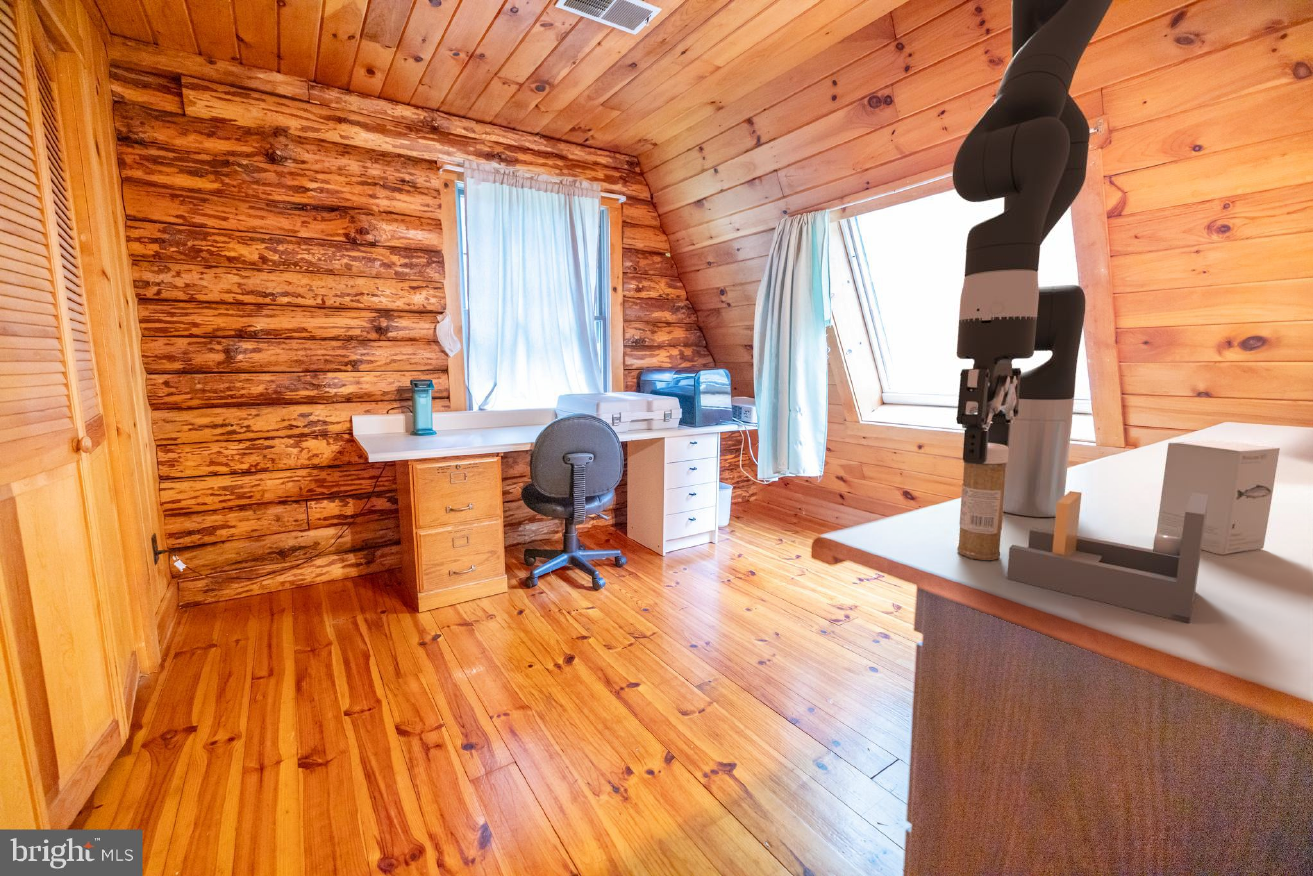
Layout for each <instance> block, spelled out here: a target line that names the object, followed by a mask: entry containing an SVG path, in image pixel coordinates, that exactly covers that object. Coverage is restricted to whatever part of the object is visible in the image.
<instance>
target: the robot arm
mask: <svg viewBox="0 0 1313 876" xmlns="http://www.w3.org/2000/svg"><path fill="white" fill-rule="evenodd" d="M1113 1H1114V0H1011V60H1010V62H1009V63H1008V65H1007V67H1006V69H1005V71H1004V74H1003V76H1002V78H1001V82H1000V84H999V86H998V89H997V93H996V94H995V95H996V96H995V98H994V101H993V103H992V104H991V105H990V106H989V107H988V108H987V110H986V111H985V112H984V114H982V116H981V117H980V119H978V121H977V122H976V123H975V124H974V126H973V127H972V128H971V129H970V130H969V132H968V134H967V135H966V136H965V138H964V139H963V141H962V143H961V145H960V147H959V149H958V150H957V153H956V155H955V159H954V161H953V167H952V182H953V187H954V189H955V192H956V193H957V194H958V195H959V196H960V198H962V199H963V200H965V201H966V202H970V203H982V202H987V201H993V200H997V199H1001V198H1003V212H1002V213H1000V214H997V215H995V216H993V217H990V218H987V219H985V220H983V221H980V222H978V223H976V224H975V225H974V226H972V227H971V228H970V230H969V231H968V234H967V238H966V248H965V262H964V263H965V265H964V279H963V283H962V288H961V294H960V299H959V300H960V301H959V314H958V315H959V316H958V330H957V344H956V357H957V358H959V359H960V360H973V364H972V368H962V369H961V370H960V371H961V372H960V373H959V374H960V375H959V376H960V378H959V380H960V381H959V389H958V391H959V392H958V400H957V402H958V403H957V414H956V419H955V420H956V424H957V425H961V428H962V429H964V432H963V433H964V434H963V435H964V437H963V449H962V460H963V461H964V462H966V463H974V464H983V463H985V462H986V460H987V448H988V443H996V444H1002V445H1005V446H1007V447H1008V448H1009V454H1008V462H1007V463H1006V464H1007V465H1006V467H1005V484H1004V497H1003V498H1004V499H1003V505H1004V509H1003V513H1004V512H1005V513H1007V514H1008V513H1009V514H1013V515H1018V516H1027V517H1037V518H1038V517H1039V518H1051V517H1052V518H1053V517H1056V509H1057V502H1058V501H1059V500H1060V499H1062V498H1063V497H1064V496H1065V495H1066V487H1067V486H1066V485H1067V476H1068V465H1069V457H1070V455H1069V454H1070V447H1071V445H1070V444H1071V436H1072V425H1073V414H1074V413H1073V412H1074V405H1075V404H1074V403H1075V391H1076V377H1077V367H1078V357H1079V351H1080V345H1081V340H1082V333H1083V328H1084V327H1083V326H1084V322H1085V315H1086V296H1085V292H1084V289H1082V287H1081V286H1079V285H1077V284H1063V285H1048V286H1047V285H1046V286H1039V268H1040V267H1039V263H1040V252H1041V245H1042V244H1043V242H1044V241H1045V239H1046V238H1047V237H1048V236H1049V234H1050V232H1051V231H1052V230H1053V229H1054V227H1055V226H1056V225H1057V223H1058V222H1059V221H1060V220H1061V219H1062V217H1064V215H1065V213H1067V211H1068V210H1069V208H1070V206H1071V205H1072V204H1073V203H1074V202H1075V200H1076V198H1077V197H1078V195H1079V194H1080V192H1081V190H1082V188H1083V187H1084V184H1085V181H1086V176H1087V166H1088V158H1089V157H1088V155H1089V143H1090V136H1091V131H1090V130H1091V129H1090V125H1089V123H1088V120H1087V118H1086V117H1085V115H1084V112H1083V111H1082V109H1081V108H1080V107H1079V105H1078V104H1077V102H1076V100H1074V98H1073V97H1072V96H1071V95H1070V93H1069V92H1070V88H1071V85H1072V82H1073V79H1074V75H1075V73H1076V70H1077V68H1078V65H1079V63H1080V60H1081V58H1082V57H1083V54H1084V53H1085V50H1086V48H1087V47H1088V46H1089V43H1091V41H1092V39H1093V37H1094V36H1095V33H1097V30H1098V28H1099V27H1100V26H1101V24H1102V22H1103V20H1104V18H1105V16H1106V15H1107V12H1108V10H1109V9H1110V7H1111V5H1112V3H1113ZM1044 351H1045V352H1047V351H1049V352H1051V354H1052V355H1051V357H1050V358H1048V360H1047V361H1045V362H1044V363H1042V364H1040V365H1039V366H1036V367H1034V368H1032V369H1029V370H1027V371H1023V372H1022V369H1021V368H1020V367H1013V363H1012V362H1013V360H1019V359H1020V360H1021V359H1022V360H1025V359H1026V360H1027V359H1030V358H1032V357H1033V356H1034V353H1035V352H1044ZM964 462H963V463H964Z"/></svg>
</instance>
